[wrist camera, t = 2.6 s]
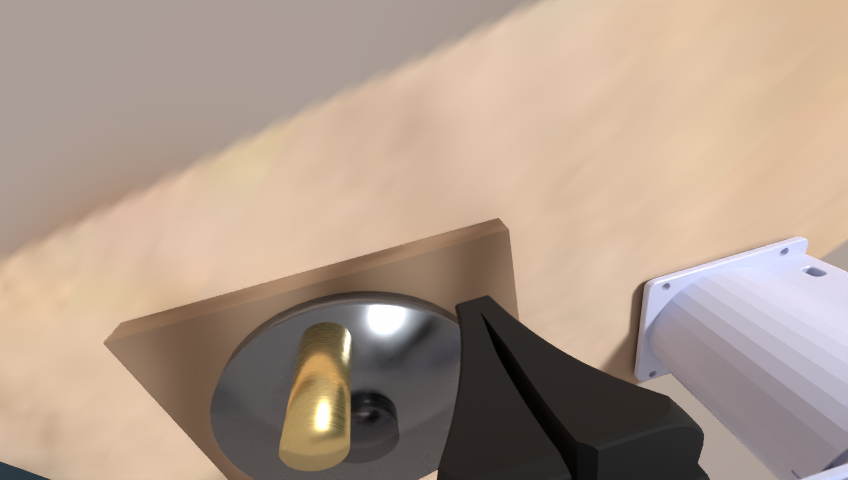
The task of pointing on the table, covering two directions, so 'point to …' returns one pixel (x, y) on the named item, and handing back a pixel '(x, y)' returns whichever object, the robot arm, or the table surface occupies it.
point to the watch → (16, 473)
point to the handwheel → (341, 390)
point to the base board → (248, 308)
